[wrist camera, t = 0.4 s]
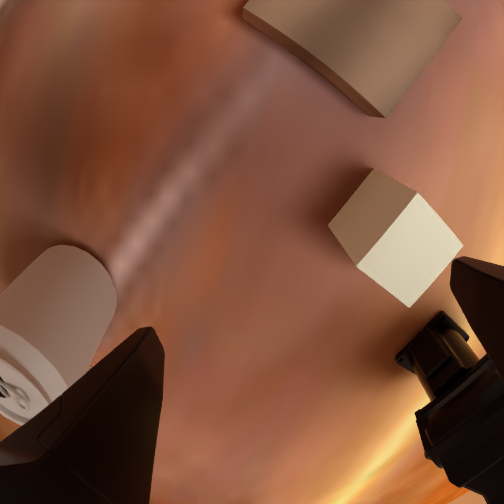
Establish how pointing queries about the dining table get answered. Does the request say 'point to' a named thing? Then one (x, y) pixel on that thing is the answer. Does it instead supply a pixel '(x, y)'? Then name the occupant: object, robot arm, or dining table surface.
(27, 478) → the robot arm
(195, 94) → the dining table surface
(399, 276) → the block
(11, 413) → the can
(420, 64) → the plinth
